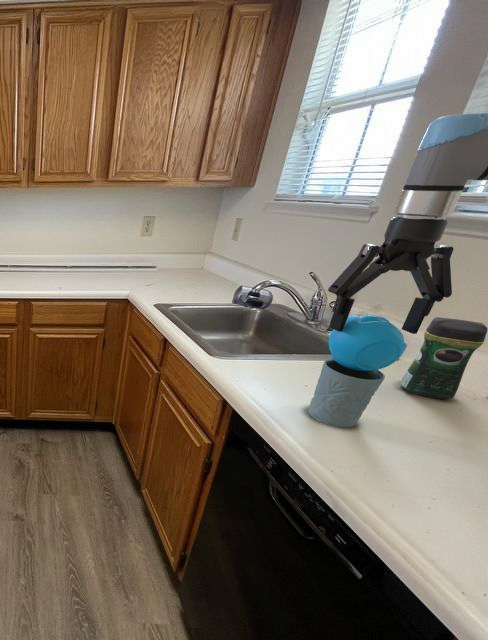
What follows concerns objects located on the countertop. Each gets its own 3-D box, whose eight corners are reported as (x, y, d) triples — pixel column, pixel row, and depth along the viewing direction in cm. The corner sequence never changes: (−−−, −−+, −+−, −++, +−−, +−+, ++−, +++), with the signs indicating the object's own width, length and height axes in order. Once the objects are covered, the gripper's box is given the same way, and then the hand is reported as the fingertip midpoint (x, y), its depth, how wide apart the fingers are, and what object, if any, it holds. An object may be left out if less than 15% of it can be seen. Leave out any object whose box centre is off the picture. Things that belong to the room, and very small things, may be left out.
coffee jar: (447, 391, 104) (487, 320, 96) (455, 403, 98) (498, 329, 90) (396, 380, 109) (430, 312, 101) (400, 392, 103) (436, 320, 95)
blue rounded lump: (404, 377, 83) (432, 321, 78) (364, 384, 80) (390, 327, 75) (342, 354, 93) (363, 304, 88) (305, 360, 90) (324, 308, 85)
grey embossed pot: (314, 401, 98) (333, 355, 93) (368, 420, 91) (392, 371, 86) (297, 414, 93) (316, 366, 88) (353, 435, 85) (377, 383, 80)
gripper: (476, 215, 76) (423, 326, 85) (331, 214, 78) (295, 322, 87) (519, 219, 69) (457, 339, 78) (359, 218, 71) (317, 334, 80)
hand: (371, 330), depth 83 cm, fingers open, 13 cm apart
